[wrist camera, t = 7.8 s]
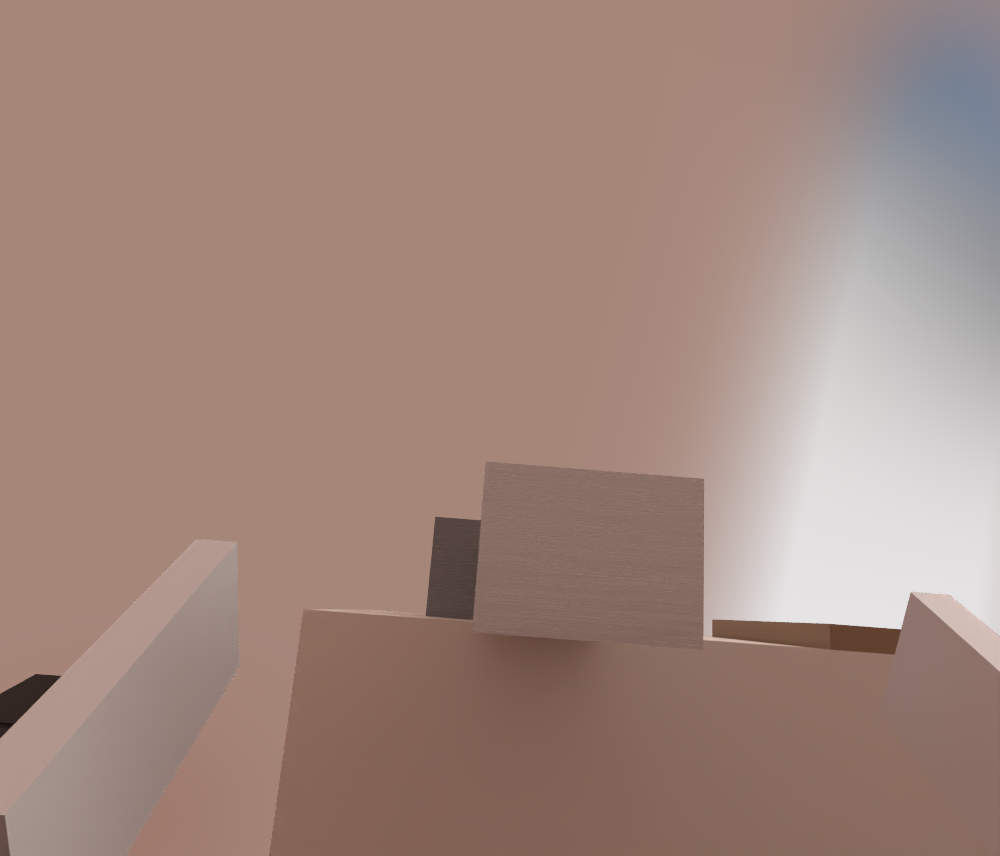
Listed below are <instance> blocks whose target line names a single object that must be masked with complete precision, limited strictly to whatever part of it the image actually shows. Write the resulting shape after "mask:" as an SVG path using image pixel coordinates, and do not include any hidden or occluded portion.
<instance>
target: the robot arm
mask: <svg viewBox="0 0 1000 856" xmlns="http://www.w3.org/2000/svg"><path fill="white" fill-rule="evenodd" d="M238 629H239V625H238V582H237V543H236V542H229V541H216V540H202V539H196V540H195V541H194V542H193V543H192V544H191V545H190V546H189V547H188V548H187V550H185V552H183V553H182V555H180V557H179V558H178V559H177V560H176V561H175V562H174V563H173V564H172V565H171V566H170V567H169V568H168V569H167V570H166V571H165V572H164V573H163V574H162V575H161V576H160V577H159V578H158V579H157V580H156V581H155V582H154V583H153V584H152V585H151V586H150V587H149V588H148V589H147V590H146V591H145V592H144V593H143V594H142V595H141V596H140V597H139V598H138V599H137V600H136V601H135V602H134V603H133V604H132V605H131V606H130V607H129V608H128V609H127V610H126V611H125V612H124V613H123V614H122V615H121V616H120V618H118V619H117V620H116V621H115V623H114V624H112V626H111V627H110V628H109V629H108V630H107V631H106V632H105V633H104V634H103V635H102V636H101V637H100V638H99V639H98V640H97V641H96V642H95V643H94V644H93V645H92V646H91V647H90V648H89V649H88V650H87V651H86V652H85V653H84V654H83V655H82V656H81V657H80V658H79V659H78V660H77V661H76V662H75V663H74V664H73V665H72V666H71V667H70V668H69V669H68V670H67V671H66V672H65V673H64V674H63V675H62V676H54V675H40V674H35V675H34V676H32V677H30V678H28V679H26V680H25V681H23V682H21V683H19V684H17V685H16V686H14V687H12V688H10V689H8V690H6V691H5V692H3V693H1V694H0V856H126V854H127V853H128V851H129V850H130V848H131V846H132V845H133V843H134V841H135V840H136V838H137V836H138V834H139V833H140V831H141V830H142V828H143V826H144V825H145V823H146V821H147V819H148V818H149V816H150V815H151V813H152V811H153V810H154V808H155V806H156V805H157V803H158V801H159V800H160V798H161V796H162V794H163V793H164V791H165V790H166V788H167V786H168V785H169V783H170V781H171V779H172V778H173V776H174V775H175V773H176V771H177V769H178V768H179V766H180V765H181V763H182V761H183V760H184V758H185V756H186V755H187V753H188V752H189V750H190V748H191V746H192V745H193V743H194V741H195V740H196V738H197V737H198V735H199V733H200V732H201V730H202V728H203V726H204V725H205V723H206V721H207V720H208V718H209V716H210V715H211V713H212V712H213V710H214V708H215V707H216V705H217V703H218V702H219V700H220V698H221V697H222V695H223V693H224V692H225V690H226V688H227V687H228V685H229V683H230V682H231V680H232V678H233V677H234V675H235V673H236V672H237V670H238V668H239V630H238ZM880 714H881V715H882V716H883V717H884V719H885V720H886V721H887V723H888V724H889V725H890V726H891V728H892V729H893V730H894V732H895V733H896V734H897V736H898V737H899V738H900V739H901V741H902V742H903V743H904V745H905V746H906V747H907V748H908V750H909V751H910V752H911V754H912V755H913V756H914V757H915V759H916V760H917V761H918V763H919V764H920V765H921V767H922V768H923V769H924V770H925V772H926V773H927V774H928V776H929V777H930V778H931V779H932V781H933V782H934V783H935V785H936V786H937V787H938V788H939V790H940V791H941V792H942V794H943V795H944V796H945V797H946V799H947V800H948V801H949V803H950V804H951V805H952V807H953V808H954V809H955V810H956V812H957V813H958V814H959V816H960V817H961V818H962V819H963V821H964V822H965V823H966V825H967V826H968V827H969V828H970V830H971V831H972V832H973V834H974V835H975V836H976V837H977V839H978V840H979V841H980V843H981V844H982V845H983V847H984V848H985V849H986V850H987V852H988V853H989V854H990V856H1000V636H999V635H998V634H996V633H995V632H994V631H993V630H992V629H990V628H989V627H988V626H986V625H985V624H984V623H983V622H982V621H981V620H979V619H978V618H977V617H976V616H975V615H973V614H972V613H971V612H970V611H969V610H967V609H966V608H965V607H964V606H962V605H961V604H960V603H959V602H958V601H956V600H955V599H954V598H953V597H952V596H950V595H943V594H929V593H916V592H911V594H910V598H909V602H908V605H907V610H906V613H905V617H904V621H903V625H902V629H901V632H900V636H899V640H898V644H897V648H896V652H895V655H894V659H893V663H892V667H891V671H890V675H889V679H888V682H887V686H886V690H885V694H884V698H883V702H882V706H881V709H880Z"/></svg>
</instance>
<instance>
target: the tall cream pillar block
mask: <svg viewBox="0 0 1000 856" xmlns="http://www.w3.org/2000/svg"><path fill="white" fill-rule="evenodd" d="M712 622H713V623H712V624H713V625H712V626H713V627H712V632H713V635H712V636H703V650H696V649H683V648H670V647H657V646H644V645H631V644H618V643H605V642H592V641H579V640H566V639H553V638H540V637H527V636H514V635H501V634H488V633H475V632H472V626H473V620H469V619H456V618H443V617H430V616H426V614H417V613H403V612H391V611H378V610H339V609H335V610H334V609H304V610H303V616H302V623H301V630H300V638H299V645H298V652H297V660H296V666H295V674H294V681H293V688H292V695H291V702H290V710H289V717H288V724H287V732H286V738H285V746H284V753H283V761H282V767H281V775H280V782H279V789H278V796H277V804H276V811H275V818H274V825H273V832H272V839H271V846H270V854H269V856H990V854H989V853H988V852H987V850H986V849H985V848H984V847H983V845H982V844H981V843H980V841H979V840H978V839H977V837H976V836H975V835H974V834H973V832H972V831H971V830H970V828H969V827H968V826H967V825H966V823H965V822H964V821H963V819H962V818H961V817H960V816H959V814H958V813H957V812H956V810H955V809H954V808H953V807H952V805H951V804H950V803H949V801H948V800H947V799H946V797H945V796H944V795H943V794H942V792H941V791H940V790H939V788H938V787H937V786H936V785H935V783H934V782H933V781H932V779H931V778H930V777H929V776H928V774H927V773H926V772H925V770H924V769H923V768H922V767H921V765H920V764H919V763H918V761H917V760H916V759H915V757H914V756H913V755H912V754H911V752H910V751H909V750H908V748H907V747H906V746H905V745H904V743H903V742H902V741H901V739H900V738H899V737H898V736H897V734H896V733H895V732H894V730H893V729H892V728H891V726H890V725H889V724H888V723H887V721H886V720H885V719H884V717H883V716H882V715H881V714H880V709H881V706H882V702H883V698H884V694H885V690H886V686H887V682H888V679H889V675H890V671H891V667H892V663H893V659H894V655H895V652H896V648H897V644H898V640H899V636H900V632H901V630H900V629H887V628H873V627H861V626H848V625H835V624H811V623H788V622H761V621H733V620H713V621H712Z"/></svg>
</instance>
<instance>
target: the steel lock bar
mask: <svg viewBox="0 0 1000 856" xmlns="http://www.w3.org/2000/svg"><path fill="white" fill-rule="evenodd" d="M703 551H704V479H697V478H685V477H672V476H660V475H647V474H633V473H622V472H609V471H596V470H584V469H571V468H559V467H546V466H533V465H521V464H508V463H496V462H486V467H485V479H484V491H483V503H482V516H481V520H468V519H455V518H443V517H435V527H434V537H433V547H432V557H431V568H430V578H429V588H428V599H427V609H426V616H430V617H443V618H456V619H469V620H473V626H472V632H475V633H488V634H501V635H514V636H527V637H540V638H553V639H566V640H579V641H592V642H605V643H618V644H631V645H644V646H657V647H670V648H683V649H696V650H703V582H704V581H703V580H704V575H703V572H704V570H703V569H704V568H703V567H704V562H703V561H704V552H703Z"/></svg>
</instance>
